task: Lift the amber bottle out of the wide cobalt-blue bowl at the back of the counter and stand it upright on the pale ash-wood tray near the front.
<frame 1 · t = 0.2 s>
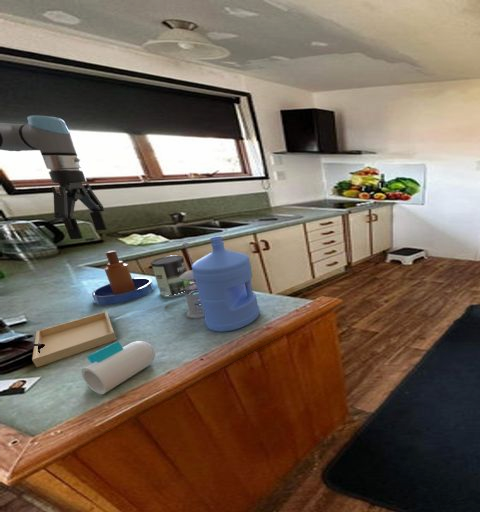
hand: (90, 234, 94), 27 cm above the counter, tool pointing down, fingers open, 13 cm apart
mug: (124, 374, 67), on the counter
water jug: (234, 319, 90), on the counter
french press: (205, 309, 97), on the counter
coffee can: (176, 292, 110), on the counter
bottle: (126, 294, 108), resting on bowl
bowl: (126, 295, 108), on the counter
tray: (77, 338, 81), on the counter
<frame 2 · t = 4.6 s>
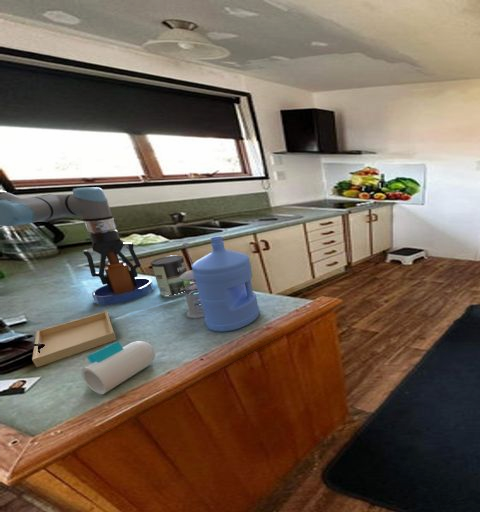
hand: (123, 287, 107), 3 cm above the counter, tool pointing down, fingers closed on bottle, 6 cm apart
bottle: (126, 294, 108), point 1 cm above the counter, touching bowl, gripper
everything else where it was.
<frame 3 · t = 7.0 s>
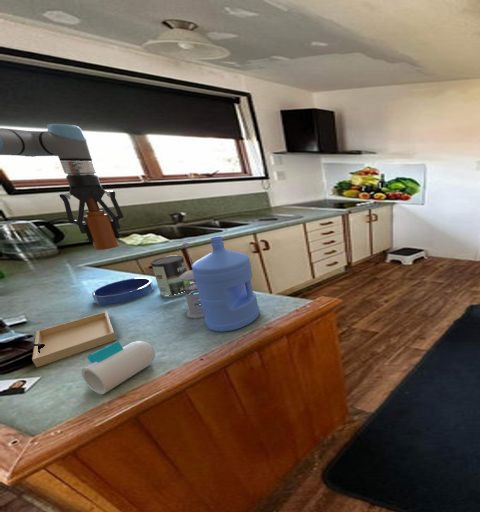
hand: (104, 239, 100), 23 cm above the counter, tool pointing down, fingers closed on bottle, 6 cm apart
bottle: (107, 247, 101), point 20 cm above the counter, touching gripper
everything else where it was.
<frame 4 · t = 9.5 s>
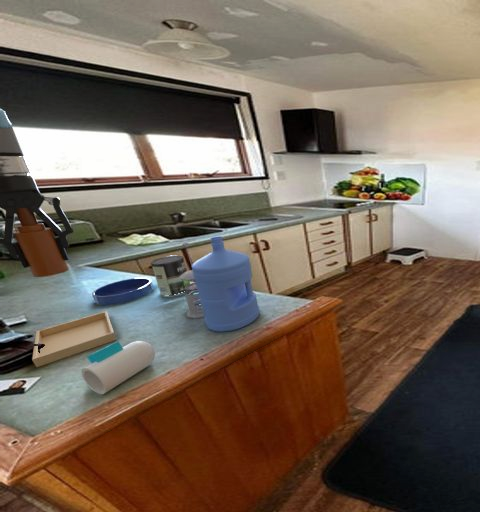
hand: (47, 262, 74), 24 cm above the counter, tool pointing down, fingers closed on bottle, 6 cm apart
bottle: (51, 272, 75), point 21 cm above the counter, touching gripper
everything else where it was.
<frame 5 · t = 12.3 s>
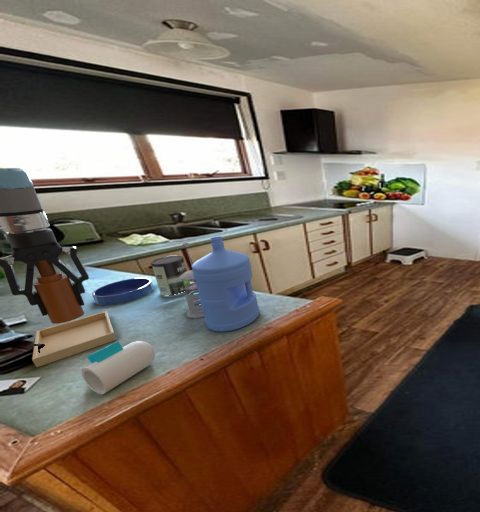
hand: (64, 308, 78), 10 cm above the counter, tool pointing down, fingers closed on bottle, 6 cm apart
bottle: (68, 317, 78), point 7 cm above the counter, touching gripper
everything else where it was.
when the fingers open (3 cm above the counter, at t = 14.3 s): bottle stays where it is, resting on tray.
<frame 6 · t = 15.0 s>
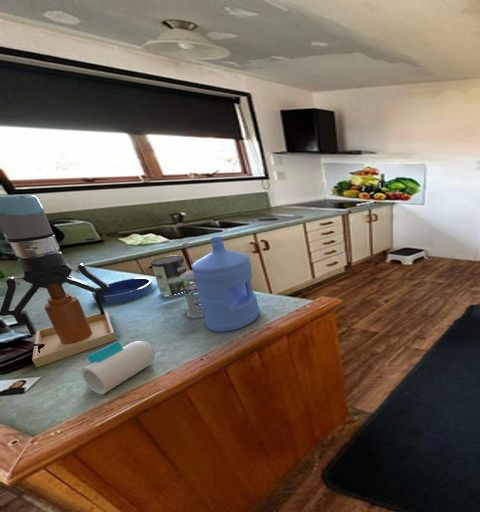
hand: (70, 322, 79), 6 cm above the counter, tool pointing down, fingers open, 13 cm apart
bottle: (77, 337, 81), resting on tray
everything else where it was.
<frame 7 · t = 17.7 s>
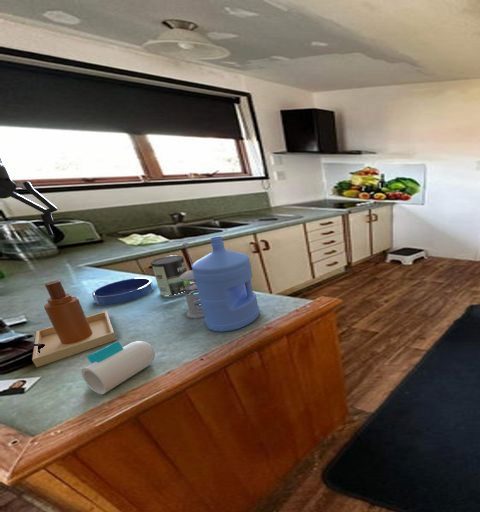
hand: (16, 238, 81), 29 cm above the counter, tool pointing down, fingers open, 13 cm apart
nothing on the counter moved.
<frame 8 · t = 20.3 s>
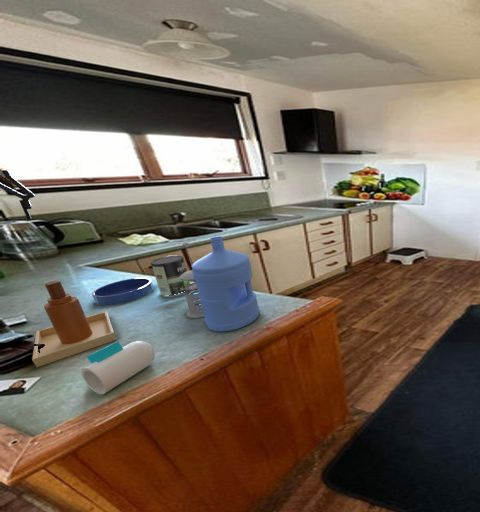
nothing on the counter moved.
at the end: bottle inside the target area in the tray (0.0 cm from its centre), point 0.5 cm above the tray's base; bottle tilted 0°; the gripper is holding nothing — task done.
